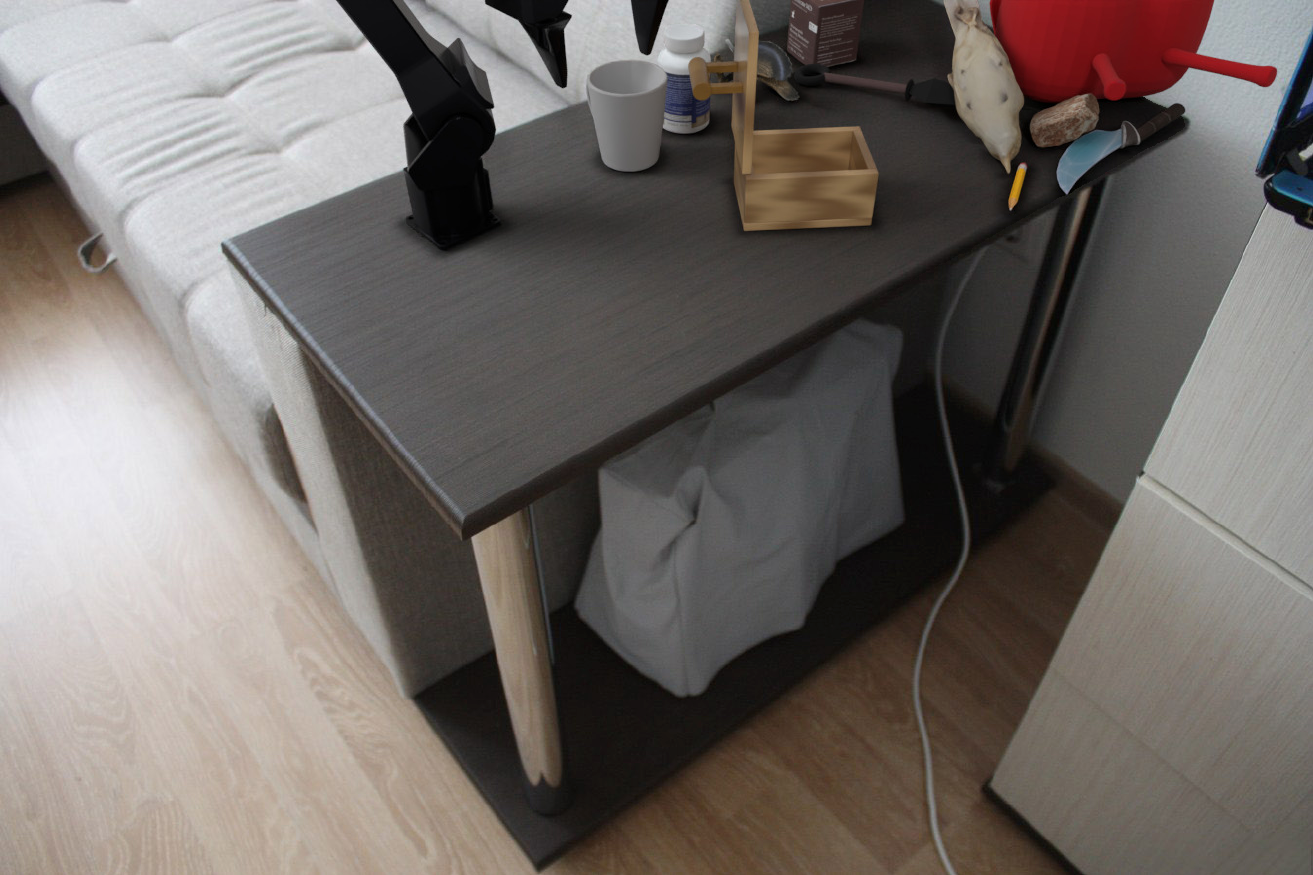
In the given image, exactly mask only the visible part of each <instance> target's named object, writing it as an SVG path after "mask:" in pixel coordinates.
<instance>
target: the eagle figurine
mask: <svg viewBox="0 0 1313 875" xmlns="http://www.w3.org/2000/svg"><path fill="white" fill-rule="evenodd" d="M725 44H727V46H728V48H729V49H730V51H731V52H732V54H733V55H734V49H735V45H734V44H733V43H732V41H731V40H730V39H729V38H726V39H725ZM714 54H715V55H714V56H713V62H725V57H724V56H723V55H722V54H721V53H720V52H718V51H714ZM792 66H793V63H792V62H791V60H790V57H789V56H788V54H787V53H786V51H784V49H783V48H781V47H780V46H779V45H777V43H775V42H773V41H770V40H767V41H766V40H758V59H757V77H756V82H760V83H763V84H765V85H767V86H768V87H770V88H771V89H773V90H775V92H776V93H777V94H779V96H780V97H781V98H783V99H784V100H785V101H787V102H789V101H791V102H794V101H797V100H799V98H800V95H799V92H798V91H797V90H796V89H795V88H794V87H793V85H792V84H791V83H790V82H789V80H788V78H791V77H792V74H794V69H793V68H792ZM724 73H725V72H724ZM724 73H714V74H715V76H716V78H717V81H718V83H728V82H732V81H733V75H734V72H729V73H728V74H726V75H725V74H724Z"/></svg>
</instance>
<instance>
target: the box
mask: <svg viewBox="0 0 1313 875" xmlns="http://www.w3.org/2000/svg"><path fill="white" fill-rule="evenodd" d="M864 5H865V0H790V9H789V20H788V29H787V30H788V32H787V44H786V46H787V47H786V51H787V52H788V54H790V55H791V56H792V57H794V58H795V59H796V60H798V61H799V62H800V63H802V64H803V66H804V65H808V64H822V65H825V66H826V67H828V68H830V67H833V66H838V65H843V64H846V63H852V62H855V61H857V57H858V56H857V55H858V48H859V41H860V34H861V26H862V18H863V12H864Z"/></svg>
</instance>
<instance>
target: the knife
mask: <svg viewBox="0 0 1313 875" xmlns="http://www.w3.org/2000/svg"><path fill="white" fill-rule="evenodd" d="M1185 113H1186V107H1185V105H1183V104H1182V103H1178V102H1174V103H1172V104H1171V105H1170V106H1168V107H1167V108H1165V109H1164V110H1163V111H1161V112H1159V113H1158V114H1157V115H1155V116H1154V117H1153V118H1150V120H1149V121H1147V122H1146V123H1144V124H1143V125H1141V126H1140V127H1138V128H1137V129H1136V127H1135V126H1134V125H1133V124H1132V123H1131V122H1130V121H1127V120H1124V121H1122V123H1121V125H1120V128H1119V129H1116V130H1112V131H1110V130H1101V129H1094V130H1092V131H1089V132H1087V133H1085V134H1083V135H1081V136H1080V137H1078V138H1077V139H1075V140H1073V142H1072V143H1071V144H1070V145H1069V146H1068V147H1067V148H1066V150H1065V151H1064V153H1063V155H1062V156H1061V158H1060V159H1059V162H1058V166H1057V169H1056V180H1057V182H1058V184H1059V187H1060V188H1061V190H1062V191H1063V192H1064V193H1065V195H1068V194H1069V192H1070V190H1071V189H1072V188H1073V187H1074V185H1075V183H1076V182H1077V181H1079V179H1080V178H1081V177H1083V175H1085V174H1086V173H1087V172H1088V171H1090V170H1091V168H1093V167H1094V166H1095V165H1096V164H1097V163H1099V162H1100V161H1102V160H1103V159H1104V158H1106V157H1107V156H1109V155H1110V154H1111V153H1113V152H1115V151H1116V150H1118V149H1124V148H1127V147H1130V146H1138V145H1140V144H1141V142H1143V141H1144V140H1146V139H1148V138H1149V137H1151V136H1153V134H1155V133H1157V132H1158V131H1160V130H1161V129H1163V128H1164V127H1166V126H1167V125H1169V124H1171V123H1172V122H1174V121H1175V120H1176V119H1178V118H1180V117H1181V116H1183V115H1184V114H1185Z"/></svg>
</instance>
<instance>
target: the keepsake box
mask: <svg viewBox="0 0 1313 875" xmlns="http://www.w3.org/2000/svg"><path fill="white" fill-rule="evenodd" d="M733 162H734V163H733V185H734V189H735V195H736V200H737V205H738V209H739V214H740V218H741V223H742V227H743V231H744V232H753V231H774V230H776V231H777V230H795V229H817V228H819V229H820V228H840V227H841V228H842V227H862V226H872V222H873V215H874V208H875V201H876V195H877V189H878V188H877V187H878V181H879V175H880V173H879V170H878V168H877V166H876V163H875V160H874V158H873V155H872V153H871V151H870V149H869V146H868V144H867V141H866V139H865V137H864V134H863V131H862V128H861V126H860V125H857V126H836V127H835V126H834V127H832V126H831V127H812V128H811V127H809V128H808V127H807V128H786V129H765V130H764V129H762V130H754V132H753V150H752V168H751V174H742V171H741V166H740V162H739V157H738V153H737V149H736V144H735V143H734V160H733Z"/></svg>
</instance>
